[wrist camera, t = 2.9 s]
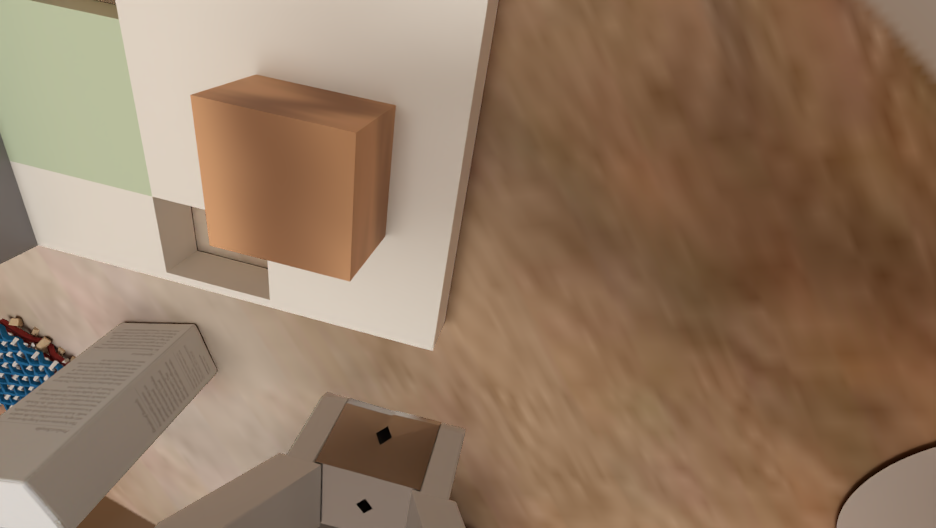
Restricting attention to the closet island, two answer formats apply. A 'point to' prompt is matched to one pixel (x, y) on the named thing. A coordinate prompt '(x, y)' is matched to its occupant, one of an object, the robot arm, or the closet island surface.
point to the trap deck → (175, 149)
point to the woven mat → (25, 361)
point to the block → (294, 172)
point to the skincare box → (95, 421)
